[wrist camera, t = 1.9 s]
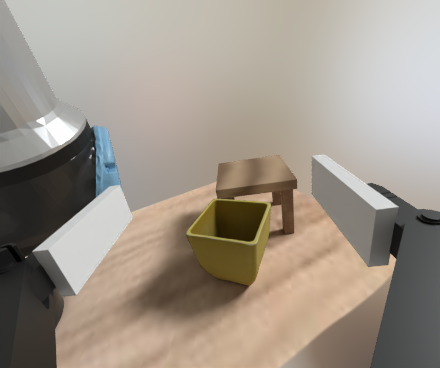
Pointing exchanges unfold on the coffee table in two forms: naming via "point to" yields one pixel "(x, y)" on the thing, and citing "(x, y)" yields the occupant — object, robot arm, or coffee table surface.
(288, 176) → the stool
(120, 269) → the coffee table surface
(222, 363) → the coffee table surface
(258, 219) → the flower pot
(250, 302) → the coffee table surface
